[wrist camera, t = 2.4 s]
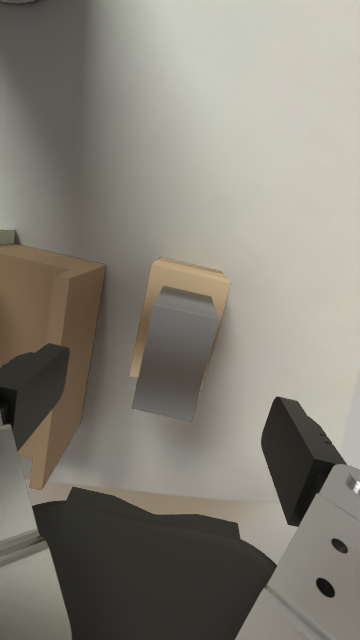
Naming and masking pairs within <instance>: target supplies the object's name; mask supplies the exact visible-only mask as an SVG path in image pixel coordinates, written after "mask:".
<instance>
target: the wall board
mask: <svg viewBox="0 0 360 640" xmlns="http://www.w3.org/2000/svg"><path fill="white" fill-rule="evenodd" d="M14 238H15V230H13V229H9V228H5V227H1V226H0V368H1V366H3V365H4V364H6V363H8V362H9V361H10V360H12V359H13V358H15V357H16V356H18V355H21V354H25V353H28V352H34V353H35V352H36V351H38V350H39V349H41V348H42V347H43V346H45V345H46V344H48V343H52V344H56V345H60V346H65V347H69V349H70V356H69V362H68V369H67V375H66V382H65V387H64V391H63V394H62V396H61V398H60V400H59V402H58V403H57V404H56V405H55V407H54V408H53V409H52V410H51V412H50V413H49V414H48V415H47V417H46V418H45V419H44V420H43V421H42V423H41V424H40V425H39V426H38V428H37V429H36V430H35V431H34V432H33V434H32V435H31V436H30V437H29V439H28V440H27V441H26V442H25V443H24V445H23V446H22V447H21V448H20V450H19V451H18V455H19V456H23V457H28V458H32V459H33V462H32V471H31V479H30V488H34V489H38V490H42V489H43V487H44V486H45V484H46V482H47V480H48V479H49V477H50V475H51V473H52V472H53V470H54V468H55V466H56V465H57V463H58V461H59V460H60V458H61V456H62V454H63V453H64V451H65V449H66V447H67V446H68V444H69V442H70V441H71V439H72V437H73V435H74V434H75V432H76V430H77V428H78V427H79V425H80V423H81V418H82V412H83V405H84V399H85V393H86V387H87V381H88V374H89V368H90V362H91V356H92V350H93V344H94V337H95V331H96V325H97V319H98V313H99V307H100V300H101V294H102V288H103V282H104V276H105V269H106V265H104V264H100V263H96V262H92V261H87V260H83V259H79V258H74V257H70V256H66V255H61V254H57V253H53V252H49V251H44V250H40V249H36V248H31V247H27V246H23V245H18V244H14Z"/></svg>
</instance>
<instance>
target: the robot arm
mask: <svg viewBox="0 0 360 640" xmlns="http://www.w3.org/2000/svg"><path fill="white" fill-rule="evenodd" d="M0 1H1V2H8V3H16V4H20V3H27V2H33V1H36V0H0ZM69 356H70V349H69V347H65V346H60V345H56V344H52V343H48V344H46V345H45V346H43V347H42V348H41V349H39V350H38V351H36V352H35V353H34V352H28V353H25V354H21V355H18V356H16V357H15V358H13V359H12V360H10V361H9V362H8V363H6V364H4V365H3V366H1V368H0V640H360V470H359V469H357V468H354V467H352V466H349V465H347V464H346V463H345V461H344V460H343V458H342V457H341V455H340V454H339V452H338V451H337V450H336V448H335V447H334V445H332V442H331V441H330V439H329V438H328V437H326V436H327V435H326V434H325V432H324V431H323V429H322V428H321V427H320V425H318V424H317V423H316V422H315V421H314V420H313V419H311V418H310V417H308V416H307V415H306V413H305V412H304V410H303V408H302V407H301V405H300V404H299V402H298V401H295V400H291V399H287V398H282V397H276V398H275V399H274V401H273V403H272V406H271V409H270V412H269V415H268V418H267V421H266V424H265V426H264V429H263V433H262V438H261V446H262V450H263V453H264V456H265V459H266V462H267V465H268V468H269V471H270V474H271V477H272V480H273V483H274V486H275V488H276V491H277V494H278V497H279V500H280V503H281V506H282V509H283V512H284V515H285V518H286V521H287V523H288V525H292V526H297V527H298V529H297V531H296V532H295V534H294V536H293V538H292V540H291V542H290V543H289V545H288V547H287V549H286V551H285V553H284V555H283V556H282V558H281V560H280V562H279V564H278V566H277V565H276V564H275V563H274V562H273V561H272V560H271V559H270V558H268V557H267V556H266V555H265V554H264V553H262V552H261V551H260V550H258V549H257V548H255V547H254V546H252V545H250V544H249V543H247V542H245V541H243V540H241V539H240V535H239V528H238V524H237V523H235V522H230V521H226V520H221V519H216V518H212V517H208V516H203V515H198V514H182V515H156V514H152V513H149V512H147V511H145V510H143V509H141V508H139V507H137V506H134V505H132V504H130V503H128V502H126V501H124V500H122V499H120V498H117V497H115V496H112V495H108V494H103V493H99V492H94V491H90V490H85V489H81V488H76V487H72V489H71V491H70V494H69V496H68V498H67V500H66V501H53V502H47V503H42V504H37V505H34V506H31V502H30V498H29V494H28V490H27V486H26V483H25V478H24V475H23V471H22V467H21V463H20V459H19V455H18V451H19V450H20V448H21V447H22V446H23V445H24V443H25V442H26V441H27V440H28V439H29V437H30V436H31V435H32V434H33V432H34V431H35V430H36V429H37V428H38V426H39V425H40V424H41V423H42V421H43V420H44V419H45V418H46V417H47V415H48V414H49V413H50V412H51V410H52V409H53V408H54V407H55V405H56V404H57V403H58V402H59V400H60V398H61V396H62V394H63V391H64V387H65V382H66V375H67V369H68V362H69Z"/></svg>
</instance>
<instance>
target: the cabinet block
mask: <svg viewBox="0 0 360 640" xmlns="http://www.w3.org/2000/svg"><path fill="white" fill-rule="evenodd" d="M230 285H231V282H230V281H229V280H228V279H227V278H226V276H225V275H224V274H223V273H222V272H221V271H219V270H215V269H210V268H206V267H202V266H198V265H193V264H189V263H185V262H180V261H176V260H172V259H168V258H163V257H160V258H159V259H158V260H157V261H155V262H154V263H153V264H152V265H151V269H150V274H149V279H148V284H147V289H146V294H145V299H144V304H143V309H142V314H141V319H140V324H139V329H138V334H137V339H136V344H135V349H134V354H133V359H132V364H131V369H130V374H129V376H132V377H137V378H138V381H137V386H136V391H135V395H134V400H133V405H132V409H136V410H141V411H145V412H150V413H154V414H159V415H163V416H168V417H173V418H177V419H182V420H186V421H192V417H193V414H194V410H195V406H196V403H197V399H198V395H199V392H201V391H202V387H203V384H204V380H205V376H206V373H207V369H208V365H209V362H210V358H211V355H212V351H213V347H214V344H215V340H216V336H217V333H218V329H219V325H220V322H221V318H222V315H223V311H224V307H225V304H226V300H227V296H228V293H229V289H230Z"/></svg>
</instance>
